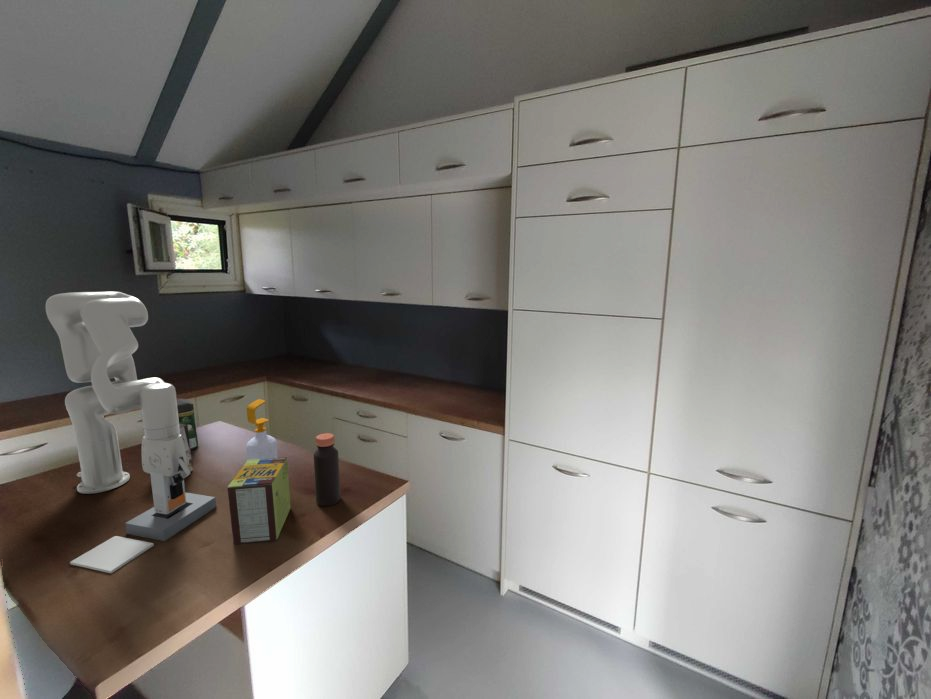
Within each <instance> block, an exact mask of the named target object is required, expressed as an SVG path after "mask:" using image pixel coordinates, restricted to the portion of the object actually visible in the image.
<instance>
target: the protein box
mask: <svg viewBox="0 0 931 699" xmlns="http://www.w3.org/2000/svg"><path fill="white" fill-rule="evenodd" d="M288 464H289V463H288V457H278V458H270V459H253V460H248V459H247V460H246V462H245V463H244V465H243V466H242V467H241V469H240V470H239V471H238V472H237V474H236V475H235V476H234V477H233V479H232V480H231V482H230V483H229V484H228V485H227V497H228V505H229V515H230V516H229V517H230V524H231V525H230V526H231V533H232V542H233V545H241V544H250V543H251V544H252V543H259V542H261V543H262V542H271V541H277V540H278V539H279V536H280V534H281V531H282V529H283V527H284V524H285V522H286V519H287V518H288V515H289V513H290V510H291V506H292V505H291V491H290V490H291V489H290V479H289V467H288Z"/></svg>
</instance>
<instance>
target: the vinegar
mask: <svg viewBox="0 0 931 699" xmlns="http://www.w3.org/2000/svg"><path fill="white" fill-rule="evenodd" d="M315 442H316V444H315V445H316V447H317V448H316V450H315V451H314V453H313V465H314V466H313V469H314V484H315V496H316V497H315V500H316V504H317V505H319V506H321V507H330V506H333V505H336V504H337V503H339V502H340V500H341V483H340V482H341V481H340V463H339V462H340V461H339V460H340V459H339V450H338V449H337V448H336V447H334V445H335V435H334V434H333V433H329V432H326V433H322V434H318V435H316V436H315Z"/></svg>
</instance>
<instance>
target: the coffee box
mask: <svg viewBox="0 0 931 699" xmlns="http://www.w3.org/2000/svg"><path fill="white" fill-rule="evenodd" d="M179 428H180V435H181V437H182V440H183V443H184V447H185V452H186V458H187V468H188V469H189V471H190V472H193V470H194V468H193V459H192V452H191V450H192V449H191V450H190V442H189V434H188V425H185V424H179Z"/></svg>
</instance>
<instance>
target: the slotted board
mask: <svg viewBox="0 0 931 699" xmlns="http://www.w3.org/2000/svg"><path fill="white" fill-rule="evenodd" d="M185 496H186V503H185V504H184V505H182V506H180V507H179V508H177V509H175V510H174V511H172V512H170V513H169V514H161V513H156V512H155V510H154V506H152V508H150V509H148V510H145V511H144V512H142V513H141V514H139V515H137V516H135V517H133V518H132V519H130V520H128V521H126V522H125V523H124V524H125V531H126V534H127V535H130V536H135V537H142V538H147V539H152V540H156V541H157V540H158V541H162V542H165V541H167V540H168V539H170V538H172V537H173V536H175V535H176V534H178V533H179V532H181V531H182V530H184V529H185V528H187V527H188V526H189V525H191V524H193V523H194V522H196V521H197V520H199V519H200V518H202V517H203V516H205V515H206V514H207V513H209V512H211V511H212V510H214V509H215V508H217V500H216V496H210V495H205V494H197V493H193V492H186V491H185ZM176 512H177V513H176ZM170 516H171V517H170ZM168 517H169V518H168Z"/></svg>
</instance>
